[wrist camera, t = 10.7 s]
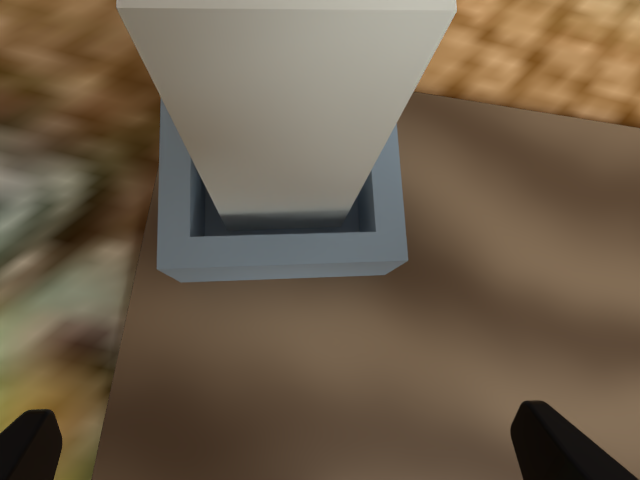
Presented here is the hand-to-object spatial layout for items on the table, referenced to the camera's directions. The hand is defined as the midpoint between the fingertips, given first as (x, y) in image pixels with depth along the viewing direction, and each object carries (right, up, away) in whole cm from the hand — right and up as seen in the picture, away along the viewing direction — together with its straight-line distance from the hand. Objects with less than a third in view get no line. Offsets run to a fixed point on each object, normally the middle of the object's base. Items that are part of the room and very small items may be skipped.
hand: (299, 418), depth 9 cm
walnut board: (+4, +1, +11) cm, 11 cm away
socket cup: (-1, +6, +10) cm, 12 cm away
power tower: (-1, +6, +10) cm, 11 cm away
